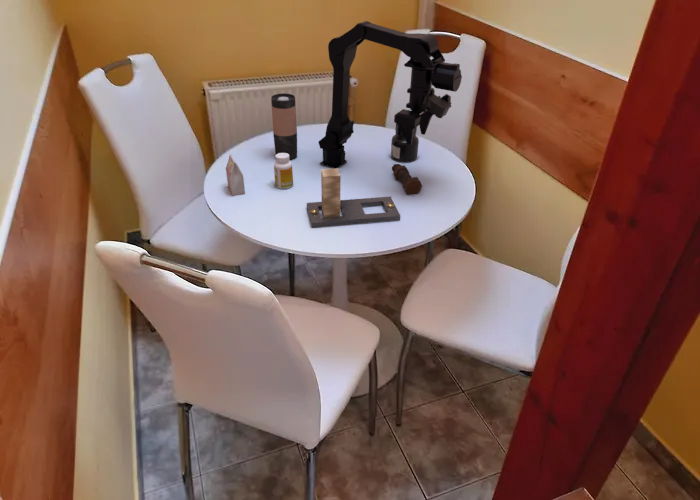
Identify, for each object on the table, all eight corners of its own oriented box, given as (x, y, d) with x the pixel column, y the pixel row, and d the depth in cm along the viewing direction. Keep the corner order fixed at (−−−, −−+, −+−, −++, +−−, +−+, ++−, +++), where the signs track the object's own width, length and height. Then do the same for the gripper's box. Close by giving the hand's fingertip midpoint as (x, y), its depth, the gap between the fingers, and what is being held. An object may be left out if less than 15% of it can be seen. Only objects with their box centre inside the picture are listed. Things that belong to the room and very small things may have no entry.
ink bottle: (391, 150, 183) (393, 116, 176) (416, 152, 182) (419, 117, 176) (390, 162, 175) (392, 127, 168) (417, 164, 174) (420, 128, 168)
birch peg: (324, 220, 144) (323, 176, 137) (321, 212, 147) (321, 169, 140) (340, 219, 145) (340, 175, 137) (337, 211, 148) (337, 168, 141)
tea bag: (240, 184, 161) (236, 153, 155) (245, 194, 156) (241, 162, 150) (228, 186, 160) (224, 155, 154) (232, 196, 155) (228, 164, 149)
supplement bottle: (296, 183, 162) (295, 153, 156) (287, 191, 158) (285, 160, 152) (281, 179, 163) (279, 150, 158) (271, 187, 159) (269, 157, 154)
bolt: (397, 178, 170) (415, 198, 158) (385, 172, 168) (401, 192, 155) (407, 162, 168) (425, 182, 156) (394, 156, 166) (412, 175, 153)
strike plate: (311, 228, 141) (311, 221, 139) (306, 207, 149) (306, 200, 148) (400, 220, 144) (400, 213, 143) (390, 201, 153) (390, 194, 152)
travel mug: (302, 155, 179) (300, 96, 168) (288, 163, 173) (285, 102, 162) (284, 150, 182) (281, 91, 171) (270, 157, 177) (265, 98, 166)
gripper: (434, 99, 135) (428, 157, 143) (461, 81, 148) (455, 134, 157) (394, 92, 139) (391, 148, 148) (425, 74, 153) (420, 127, 161)
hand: (416, 139), depth 153 cm, fingers open, 9 cm apart
